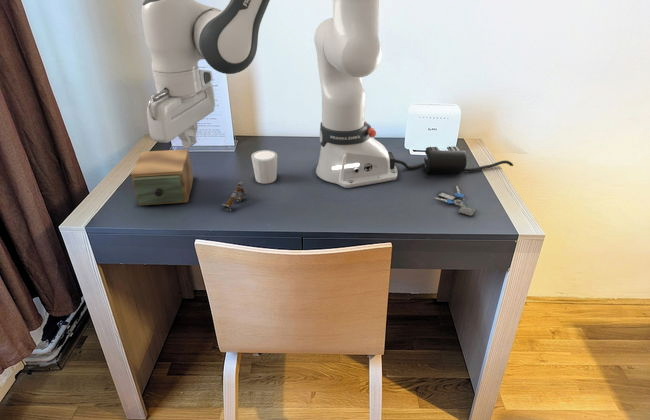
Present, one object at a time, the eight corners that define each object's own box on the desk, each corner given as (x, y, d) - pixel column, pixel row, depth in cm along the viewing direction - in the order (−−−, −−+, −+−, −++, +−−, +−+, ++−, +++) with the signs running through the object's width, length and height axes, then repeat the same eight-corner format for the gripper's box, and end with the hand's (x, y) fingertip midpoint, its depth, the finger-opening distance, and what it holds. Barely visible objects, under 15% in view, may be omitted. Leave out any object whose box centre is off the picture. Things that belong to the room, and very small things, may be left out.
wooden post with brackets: (250, 191, 108) (244, 180, 105) (234, 217, 104) (228, 206, 101) (244, 190, 109) (238, 179, 105) (228, 215, 105) (221, 204, 101)
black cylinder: (428, 178, 117) (431, 155, 113) (421, 167, 123) (424, 145, 119) (464, 177, 117) (468, 155, 114) (455, 166, 123) (460, 144, 120)
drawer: (183, 204, 103) (178, 179, 99) (138, 207, 102) (131, 182, 98) (189, 179, 114) (185, 156, 110) (148, 182, 112) (143, 158, 109)
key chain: (478, 216, 101) (479, 213, 100) (444, 218, 100) (445, 215, 100) (457, 187, 112) (458, 184, 112) (426, 188, 112) (427, 186, 111)
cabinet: (188, 202, 106) (182, 171, 101) (138, 205, 104) (130, 174, 100) (193, 178, 116) (188, 149, 112) (148, 181, 115) (141, 151, 110)
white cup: (248, 182, 115) (246, 158, 111) (260, 171, 120) (258, 148, 116) (271, 186, 113) (270, 162, 109) (282, 175, 118) (281, 151, 114)
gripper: (162, 99, 77) (176, 167, 85) (215, 70, 94) (224, 129, 101) (132, 96, 79) (149, 164, 86) (190, 68, 95) (200, 127, 103)
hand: (190, 145), depth 94 cm, fingers closed
